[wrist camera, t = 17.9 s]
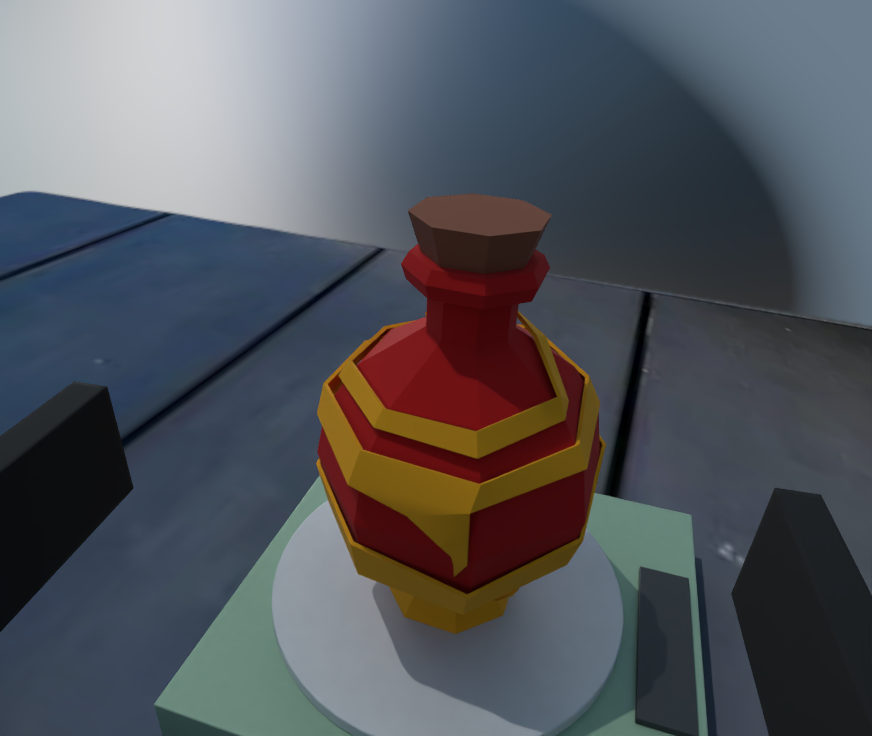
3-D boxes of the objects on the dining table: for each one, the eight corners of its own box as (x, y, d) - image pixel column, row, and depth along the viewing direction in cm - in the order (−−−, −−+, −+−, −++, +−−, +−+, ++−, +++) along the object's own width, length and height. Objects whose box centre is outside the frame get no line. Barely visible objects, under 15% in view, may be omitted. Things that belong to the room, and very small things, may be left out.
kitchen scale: (679, 551, 32) (694, 505, 30) (698, 945, 18) (728, 898, 17) (348, 472, 36) (346, 427, 34) (165, 746, 22) (149, 693, 21)
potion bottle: (624, 573, 26) (724, 219, 19) (466, 763, 19) (523, 325, 12) (437, 460, 32) (455, 156, 24) (265, 575, 25) (216, 203, 18)
